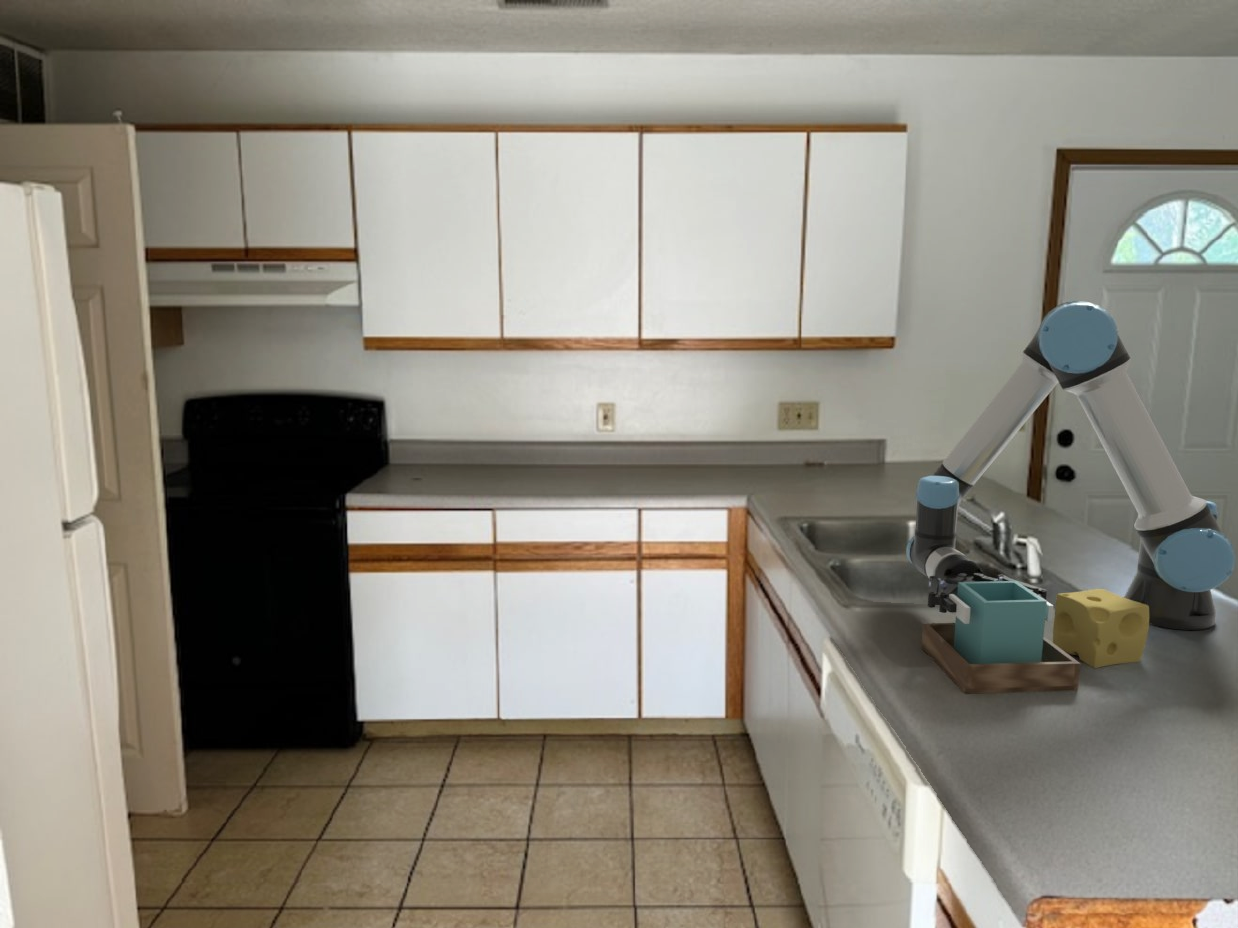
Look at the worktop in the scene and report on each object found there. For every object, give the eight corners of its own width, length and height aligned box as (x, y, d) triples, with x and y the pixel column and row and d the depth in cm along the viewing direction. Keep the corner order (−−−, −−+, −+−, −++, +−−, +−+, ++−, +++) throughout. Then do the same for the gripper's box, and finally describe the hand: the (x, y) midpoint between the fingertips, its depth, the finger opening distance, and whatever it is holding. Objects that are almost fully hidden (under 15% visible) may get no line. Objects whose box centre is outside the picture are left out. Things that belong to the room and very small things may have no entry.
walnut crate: (1021, 645, 158) (1023, 621, 157) (1077, 690, 140) (1080, 663, 139) (921, 647, 157) (922, 623, 156) (964, 693, 140) (966, 666, 139)
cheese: (1094, 669, 148) (1100, 612, 146) (1047, 645, 158) (1052, 591, 156) (1145, 662, 151) (1152, 605, 149) (1096, 638, 161) (1101, 585, 159)
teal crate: (1010, 650, 154) (1016, 580, 151) (1040, 675, 144) (1046, 601, 142) (953, 651, 153) (958, 582, 151) (978, 676, 144) (984, 602, 141)
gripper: (1019, 591, 166) (1082, 634, 145) (886, 594, 165) (931, 638, 144) (1022, 552, 164) (1087, 590, 143) (888, 554, 163) (934, 594, 142)
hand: (1009, 614), depth 144 cm, fingers open, 13 cm apart
